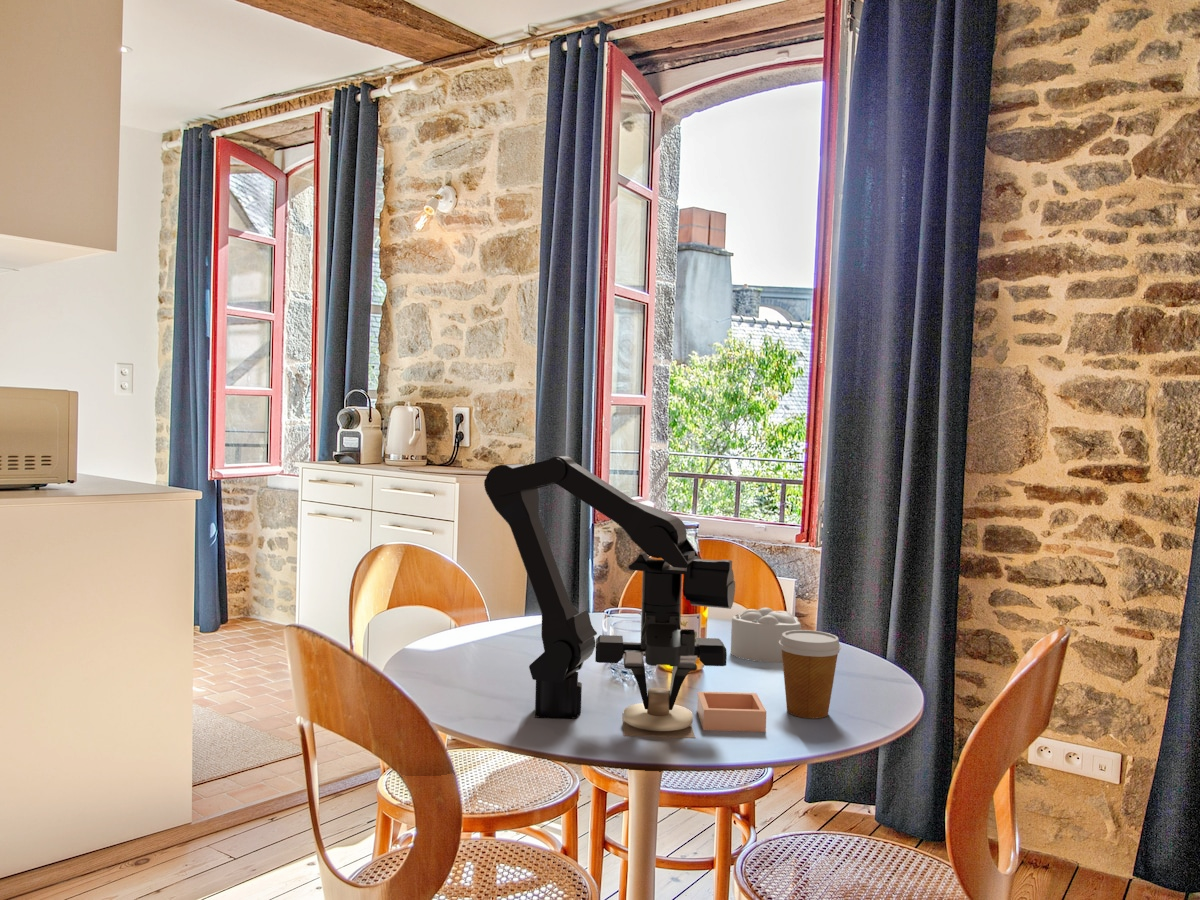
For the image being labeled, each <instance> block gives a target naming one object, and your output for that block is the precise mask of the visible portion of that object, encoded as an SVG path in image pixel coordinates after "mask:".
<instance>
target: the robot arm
mask: <svg viewBox="0 0 1200 900" xmlns="http://www.w3.org/2000/svg"><path fill="white" fill-rule="evenodd" d="M483 484H484V485H483V487H484V490H485V493H486V495H487V496H488V498H489V500H490V503H491V504H492V505H493V507H494V509H495V511H496V512H497V513H498V515H500V516H501V518H503V521H505V522H506V523H507V524H508V526H509V528H510V529H511V533H512V536H513V538H514V541H515V544H516V548H517V549H518V552H519V555H520V558H521V560H522V563H523V566H524V569H525V572H526V575H527V577H528V580H529V582H530V585H531V588H532V591H533V593H534V597H535V599H536V602H537V604H538V607H539V610H540V614H541V633H540V634H541V641H542V645H543V652H542V654H541V655H539V656H538V657H537V658H536V659H535V660H534V661H533V662H531V663H530V664H529V667H528V669H529V672H530V675H531V679H532V680H534V681H535V698H534V699H535V701H534V702H535V704H534V713H533V718H534V719H552V720H553V719H556V720H558V719H559V720H563V719H564V720H577V719H578V715H580V714H581V713H582V693H583V692H582V691H583V689H582V688H583V683H582V682H581V681H580V682H579V672H578V671H580V670H581V669H582V667H583V664H584V662H585V661H586V660H588V659H589V658H590V657H591V656H592V655H593V652H594V651H595V660H594V661H595V662H596V663H597V664H598V663H600V664H618V663H619V662H621V660H622V661H623V668H624V669H626V670H631V672H632V675H634V678H635V680H636V683H637V687H638V689H639V692H640V696H641V701H642V703H643V704H644V708H645V709H648V687H647V680H646V679H647V678H646V667H645V663H646V664H647V665H648V666H653V667H657V666H660V665H661V666H662V665H663V666H670V667H672V670H671V672H672V673H671V680H670V687H669V691H670V702H669V710H672V709H673V706H674V704H675V702H676V701H677V698H678V695H679V692H680V689H681V687H682V685H683V682H684V681H685V679H686V677H687V676H688V675H689V673H690V672H692V671H693V672H694V671H695V672H696V671H697V670H698V666H697V661H698V659H699V661H700V662H701V663H702V665H703V666H704V667H705V666H706V667H725V666H727V648H726V646H725V644H724V642H723V641H722V640H721V639H720V638H715V637H714V638H713V637H711V638H710V637H708V638H707V637H696V634H695V633H696V632H695V629H690V628H689V629H683V628H681V623H682V622H681V618H682V617H681V616H682V594H683V598H685V600H686V601H689V604H690V605H691V606H696V607H697V606H698V607H707V608H708V607H709V608H719V609H720V608H721V609H729V610H730V609H732V608H733V604H734V601H735V593H736V580H735V579H734V578H735V576H734V575H735V574H734V570H733V561H732V560H731V559H719V560H718V559H706V558H705V559H704V558H703V559H702V558H701V557H700V555H699V553H698V552H697V551H696V550H695V547H694V546H693V545H692V544H691V542H690V541H689V539H688V537H687V535H688V533H687V528H686V524H685V523H684V521H683V520H682V519H680V517H678V516H676V515H673V514H672V513H669V512H666V511H664V510H661V509H659V508H657V507H654V506H650V505H646V504H644V503H641V502H638V501H636V500H635V499H633V498H631V497H630V496H628V495H626V494H625V493H623V492H622V491H620V490H619V489H618V488H615V486H613V485H611V484H609V483H608V482H607V481H605V480H603V479H602V478H600V477H598V476H597V475H595V474H594V473H592V472H591V471H590V470H588V469H586V468H584V467H583V466H581V465H580V464H578V463H576V462H575V460H574V459H573V458H572V457H570V456H567V455H562V456H560V455H559V456H552V457H550V458H549V459H545V460H542V461H539V462H538V461H537V462H533V463H529V464H523V463H509V464H499V465H496V466H494V467H492V468H490V470H489V471H488V472H487V475H486V476H485V479H484V483H483ZM552 485H558V486H559V487H560V488H562V489H564V490H565V491H567V492H568V493H570V494H571V495H573V497H576V498H577V499H579V500H581V501H582V502H583V503H585V504H587V505H588V506H589V507H591V508H593V509H594V510H596V511H597V512H598V513H600V514H602V515H603V516H605V517H607V518H608V519H610V520H611V521H613V522H614V523H616V524H617V525H618V526H619V527H621V529H623V531H624V532H625V534H626V535H627V536H628V537H629V538H630V540H631V541H632V542H633V543H635V544H636V545H637V546H638V547H639V548H640V549H641V550H642V551H643V552H642V553H640V554H639V555H638V556H637V558H636V559H635V560H634V561H633V562H632V563H631V564H629V565H628V570H630V571H638V572H642V580H641V582H642V584H641V585H642V587H641V610H640V611H641V613H640V614H641V616H640V617H641V618H640V642H626V641H625V642H624V637H623V635H607V634H606V635H605V634H602V635H601V634H599V636H598V637H596V635H598V632H597V631H596V629H594V627H593V625H592V622H591V617H590V616H591V615H590V613H589V611H588V609H584V610H582V611H580V612H579V611H578V610H577V608H576V607H575V606H574V605H573V604H572V602H571V601H570V597H569V595H568V592H567V590H566V587H565V584H564V582H563V578H562V576H561V574H560V570H559V567H558V566H557V563H556V561H555V556H554V554H553V552H552V548H551V547H550V544H549V541H548V538H547V536H546V535H547V534H546V532H545V530H544V528H543V527H544V526H543V525H542V522H541V519H540V516H539V515H540V514H539V505H540V502H539V501H540V496H539V495H540V494H539V490H538V489H542V488H545V487H549V486H552ZM649 556H650V557H651V558H650V557H649ZM595 637H596V639H595ZM644 657H645V658H644ZM644 659H645V661H644ZM675 705H676V704H675Z"/></svg>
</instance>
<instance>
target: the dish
mask: <svg viewBox="0 0 1200 900" xmlns="http://www.w3.org/2000/svg"><path fill="white" fill-rule="evenodd" d="M696 700H697V702H696V704H697V705H696V712H697V715H698V718H699V720H700V725H701V727H702V731H718V732H719V731H725V732H755V733H757V732H758V733H759V732H760V733H767V732H766V731H767V709H766V708H765V706H764V705H763V702H762V701H761V699H760V697H759V696H758V694H757V693H756V692H728V691H727V692H722V691H697V697H696Z"/></svg>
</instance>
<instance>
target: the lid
mask: <svg viewBox="0 0 1200 900" xmlns="http://www.w3.org/2000/svg"><path fill="white" fill-rule="evenodd" d="M647 695H648V709H645V708H644V704H643V702H639V703H638V702H637V703H634V704H631V705H628V706H627V707H625V708H624V709H623V713H624V721H625V722H626V723H628V724H629V725H631V726H634V727H637V728H640V729H645V730H653V731H673V730H680V729H684V728H686V727H688V726H690V725H692V724H693V722H694V719H693V718H694V716H693V715H694V714H693V712H692V711H691V710H690V709H688V707H687V708H686V707H684V706H681V705H678V704H674V706H673V709H672V710H669V702H670V689H668V688H663V687H652V688H647Z"/></svg>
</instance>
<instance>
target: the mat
mask: <svg viewBox="0 0 1200 900" xmlns="http://www.w3.org/2000/svg"><path fill="white" fill-rule="evenodd" d="M622 728H623V736H624V737H637V738H638V737H641V738H642V737H643V738H644V737H645V738H646V737H647V738H672V739H673V738H675V739H679V738H680V739H682V738H683V739H696V736H695V732H694V729H693V725H692V724H691V725H690V726H688V727H686V728H684V729H680V730H673V731H653V730H645V729H640V728H637V727H634V726H631V725H629V724H628V723H626V722H625V721H624V712H623V713H622Z"/></svg>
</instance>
